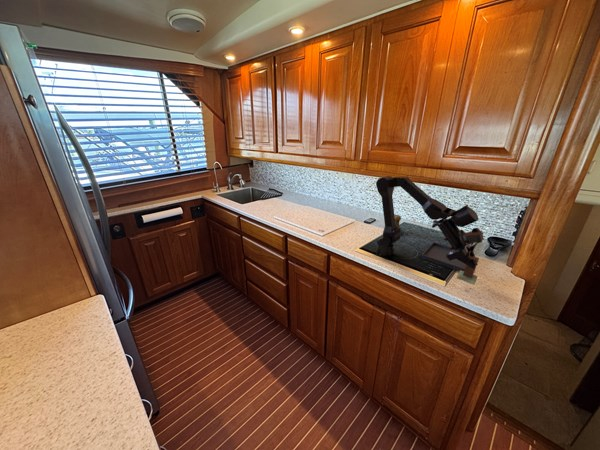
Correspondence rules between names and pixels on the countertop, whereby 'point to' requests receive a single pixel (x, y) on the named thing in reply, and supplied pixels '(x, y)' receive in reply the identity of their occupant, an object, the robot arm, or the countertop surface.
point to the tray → (442, 256)
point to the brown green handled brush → (469, 272)
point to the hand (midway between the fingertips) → (475, 266)
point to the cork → (397, 220)
